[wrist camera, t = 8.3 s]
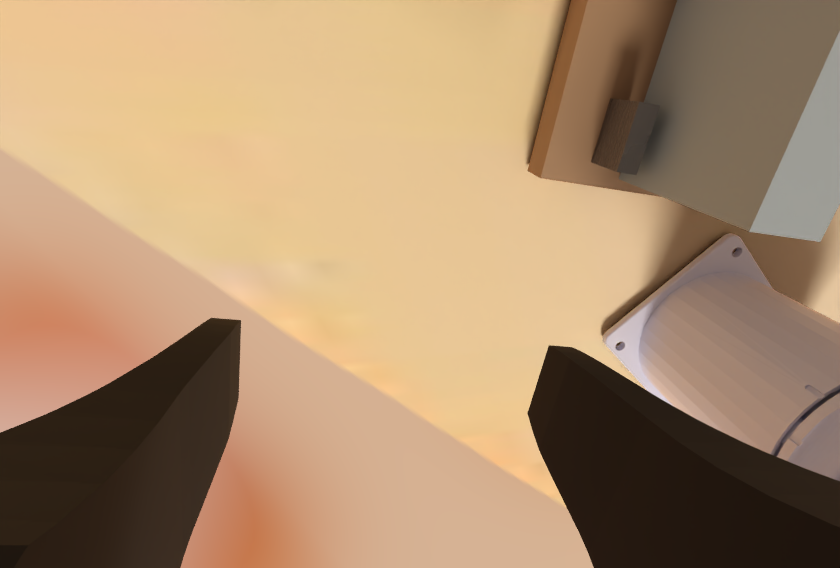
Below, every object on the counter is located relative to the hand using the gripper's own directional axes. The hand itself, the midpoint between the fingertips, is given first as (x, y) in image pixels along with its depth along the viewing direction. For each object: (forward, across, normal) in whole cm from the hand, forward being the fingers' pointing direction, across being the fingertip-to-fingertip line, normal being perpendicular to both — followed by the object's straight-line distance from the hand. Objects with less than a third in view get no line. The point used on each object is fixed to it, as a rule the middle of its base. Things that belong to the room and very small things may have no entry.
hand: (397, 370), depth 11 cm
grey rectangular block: (+9, -11, -9) cm, 17 cm away
